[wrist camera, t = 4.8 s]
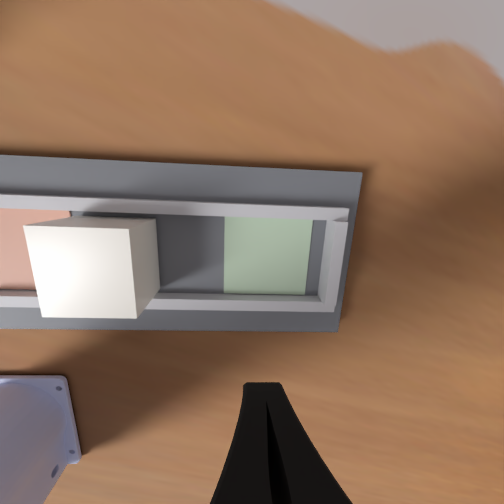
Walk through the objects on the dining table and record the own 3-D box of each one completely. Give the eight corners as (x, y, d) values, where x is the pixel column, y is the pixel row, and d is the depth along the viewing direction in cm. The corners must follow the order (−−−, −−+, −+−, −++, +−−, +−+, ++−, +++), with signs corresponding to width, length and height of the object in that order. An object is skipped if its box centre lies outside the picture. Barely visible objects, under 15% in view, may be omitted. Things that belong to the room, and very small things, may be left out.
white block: (160, 288, 17) (136, 318, 13) (87, 287, 17) (42, 317, 13) (155, 218, 16) (128, 229, 12) (76, 215, 16) (22, 225, 12)
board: (332, 323, 20) (346, 345, 17) (4, 319, 19) (-36, 342, 16) (354, 173, 17) (375, 170, 14) (-38, 154, 16) (-96, 147, 13)
